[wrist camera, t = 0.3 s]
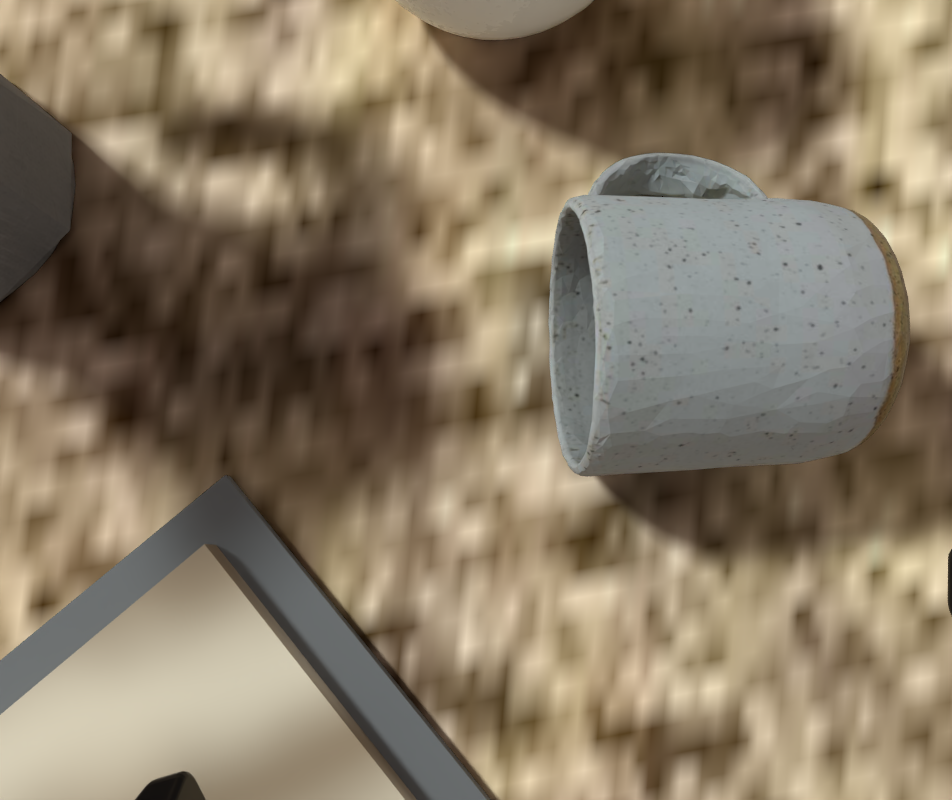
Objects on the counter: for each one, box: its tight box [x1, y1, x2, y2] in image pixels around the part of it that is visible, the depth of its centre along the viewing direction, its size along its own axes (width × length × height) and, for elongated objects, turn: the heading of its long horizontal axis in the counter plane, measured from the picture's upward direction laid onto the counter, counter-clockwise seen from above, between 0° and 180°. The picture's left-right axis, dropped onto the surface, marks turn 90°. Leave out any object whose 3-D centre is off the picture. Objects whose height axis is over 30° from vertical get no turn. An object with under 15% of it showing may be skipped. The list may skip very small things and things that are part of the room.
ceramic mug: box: [549, 153, 910, 476], centre depth 22 cm, size 11×8×8 cm
